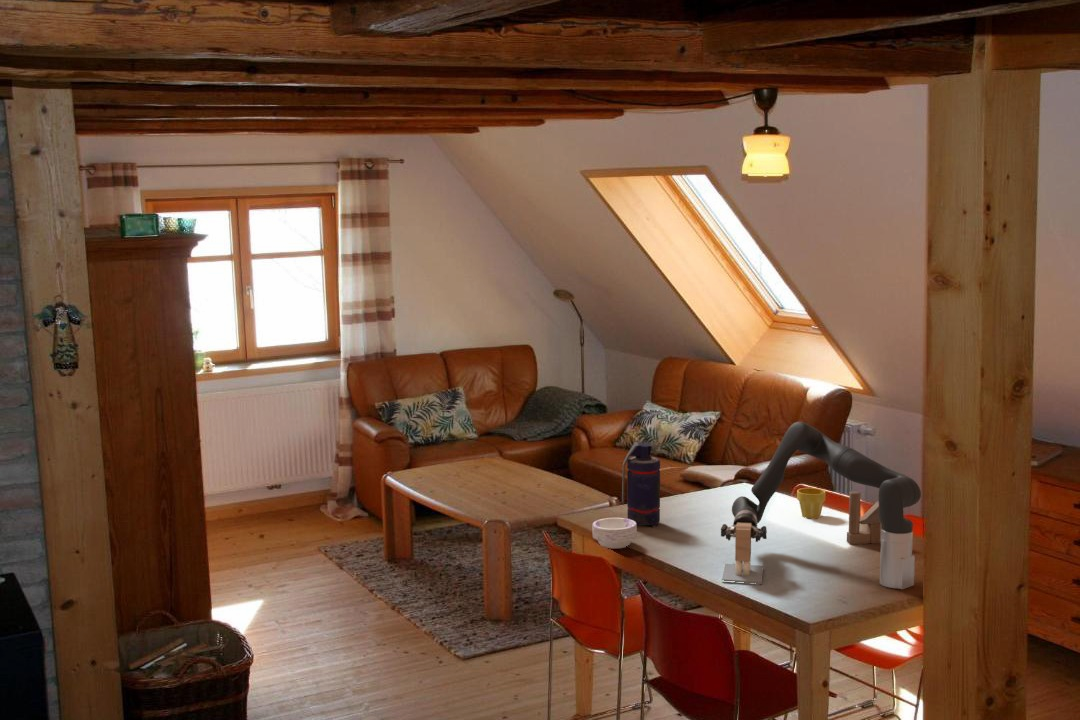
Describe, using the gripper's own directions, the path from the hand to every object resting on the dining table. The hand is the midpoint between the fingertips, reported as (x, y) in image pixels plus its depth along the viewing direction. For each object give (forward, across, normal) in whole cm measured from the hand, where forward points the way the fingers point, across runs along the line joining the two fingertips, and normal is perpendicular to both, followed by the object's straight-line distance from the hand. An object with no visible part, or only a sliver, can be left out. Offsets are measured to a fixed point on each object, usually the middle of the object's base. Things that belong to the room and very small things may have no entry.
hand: (742, 538), depth 361 cm
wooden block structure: (-46, +39, +13) cm, 62 cm away
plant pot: (-77, +22, +13) cm, 81 cm away
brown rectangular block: (-3, 0, +7) cm, 8 cm away
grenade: (-56, -39, +13) cm, 69 cm away
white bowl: (-27, -45, +13) cm, 54 cm away
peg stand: (-3, 0, +13) cm, 13 cm away
